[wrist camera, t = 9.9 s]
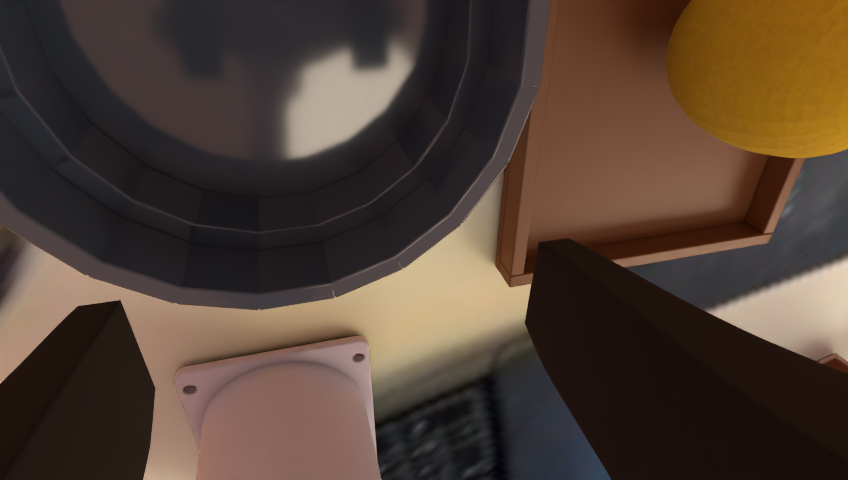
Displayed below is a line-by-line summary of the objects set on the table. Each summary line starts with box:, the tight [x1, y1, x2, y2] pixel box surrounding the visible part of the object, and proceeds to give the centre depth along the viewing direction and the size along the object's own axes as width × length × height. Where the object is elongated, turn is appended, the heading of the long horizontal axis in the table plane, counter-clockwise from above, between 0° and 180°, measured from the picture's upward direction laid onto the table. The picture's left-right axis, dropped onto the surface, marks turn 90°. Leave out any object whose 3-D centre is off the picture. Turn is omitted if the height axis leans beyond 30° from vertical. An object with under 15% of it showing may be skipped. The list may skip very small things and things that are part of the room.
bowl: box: [0, 0, 551, 310], centre depth 13 cm, size 14×14×5 cm
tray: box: [496, 0, 805, 287], centre depth 19 cm, size 19×13×2 cm
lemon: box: [666, 0, 848, 158], centre depth 16 cm, size 6×6×8 cm
